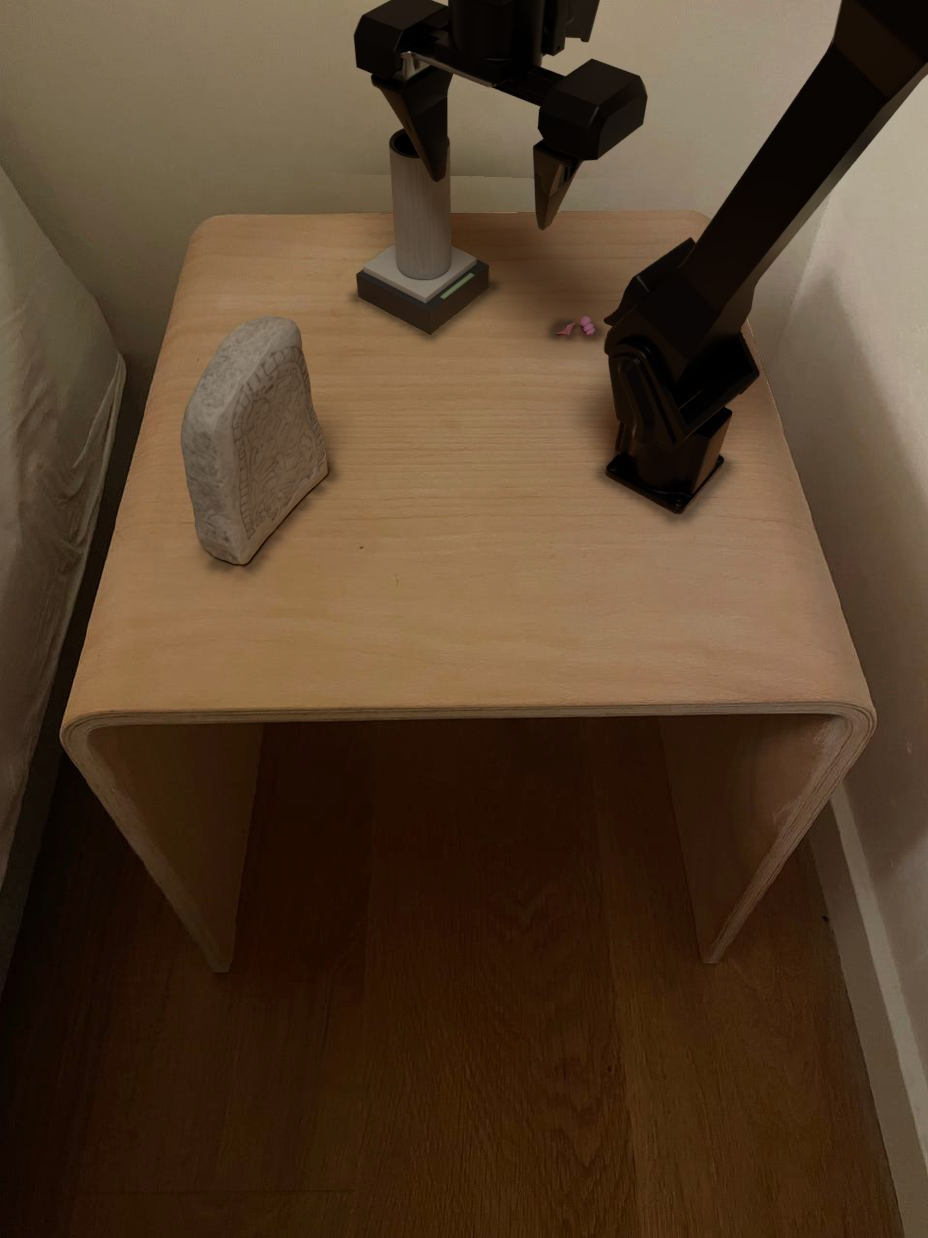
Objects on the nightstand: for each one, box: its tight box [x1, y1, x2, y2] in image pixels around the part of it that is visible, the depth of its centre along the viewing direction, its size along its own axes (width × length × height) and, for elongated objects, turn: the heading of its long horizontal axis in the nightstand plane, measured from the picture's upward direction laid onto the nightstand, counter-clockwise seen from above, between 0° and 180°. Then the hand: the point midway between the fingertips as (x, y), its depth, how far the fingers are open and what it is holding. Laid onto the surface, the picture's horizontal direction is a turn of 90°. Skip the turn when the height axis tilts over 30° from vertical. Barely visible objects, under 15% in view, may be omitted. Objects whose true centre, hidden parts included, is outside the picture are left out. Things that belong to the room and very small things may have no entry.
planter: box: [388, 127, 452, 280], centre depth 71 cm, size 4×4×10 cm
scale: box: [355, 242, 490, 335], centre depth 76 cm, size 8×8×3 cm
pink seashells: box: [555, 315, 596, 336], centre depth 75 cm, size 3×2×2 cm
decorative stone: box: [180, 315, 329, 565], centre depth 58 cm, size 11×6×15 cm, turn 153°
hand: (490, 202), depth 62 cm, fingers open, 9 cm apart
